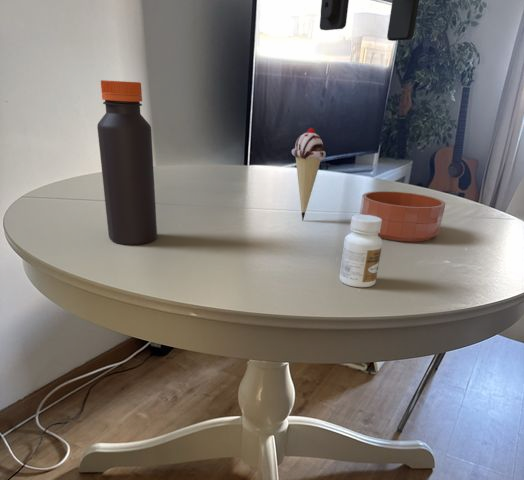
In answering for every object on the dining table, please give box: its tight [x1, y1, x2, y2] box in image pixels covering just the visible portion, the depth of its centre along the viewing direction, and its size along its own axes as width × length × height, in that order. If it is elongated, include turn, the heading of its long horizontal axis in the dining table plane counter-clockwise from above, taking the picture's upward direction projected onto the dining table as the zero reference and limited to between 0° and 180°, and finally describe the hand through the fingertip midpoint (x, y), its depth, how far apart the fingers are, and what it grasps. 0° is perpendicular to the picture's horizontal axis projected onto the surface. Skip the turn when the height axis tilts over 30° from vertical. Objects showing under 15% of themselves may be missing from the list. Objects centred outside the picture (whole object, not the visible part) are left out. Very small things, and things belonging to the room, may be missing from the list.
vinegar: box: [97, 79, 158, 246], centre depth 65 cm, size 7×7×20 cm
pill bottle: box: [338, 214, 383, 288], centre depth 56 cm, size 4×4×8 cm
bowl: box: [359, 190, 446, 243], centre depth 80 cm, size 13×13×6 cm
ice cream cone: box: [291, 127, 327, 222], centre depth 81 cm, size 6×6×15 cm
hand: (367, 34), depth 49 cm, fingers open, 9 cm apart
